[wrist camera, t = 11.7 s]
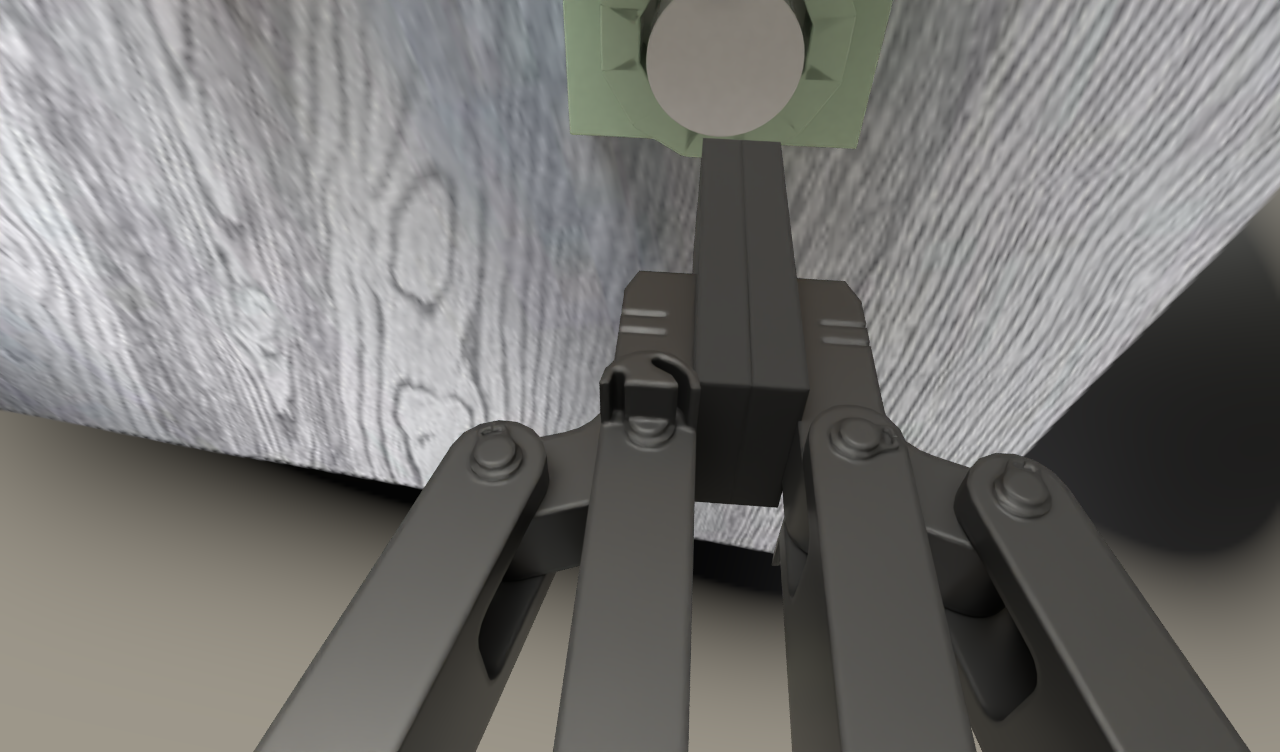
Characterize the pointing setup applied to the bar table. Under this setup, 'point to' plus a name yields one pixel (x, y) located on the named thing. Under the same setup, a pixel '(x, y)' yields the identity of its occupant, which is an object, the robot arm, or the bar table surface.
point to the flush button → (724, 62)
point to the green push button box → (814, 116)
